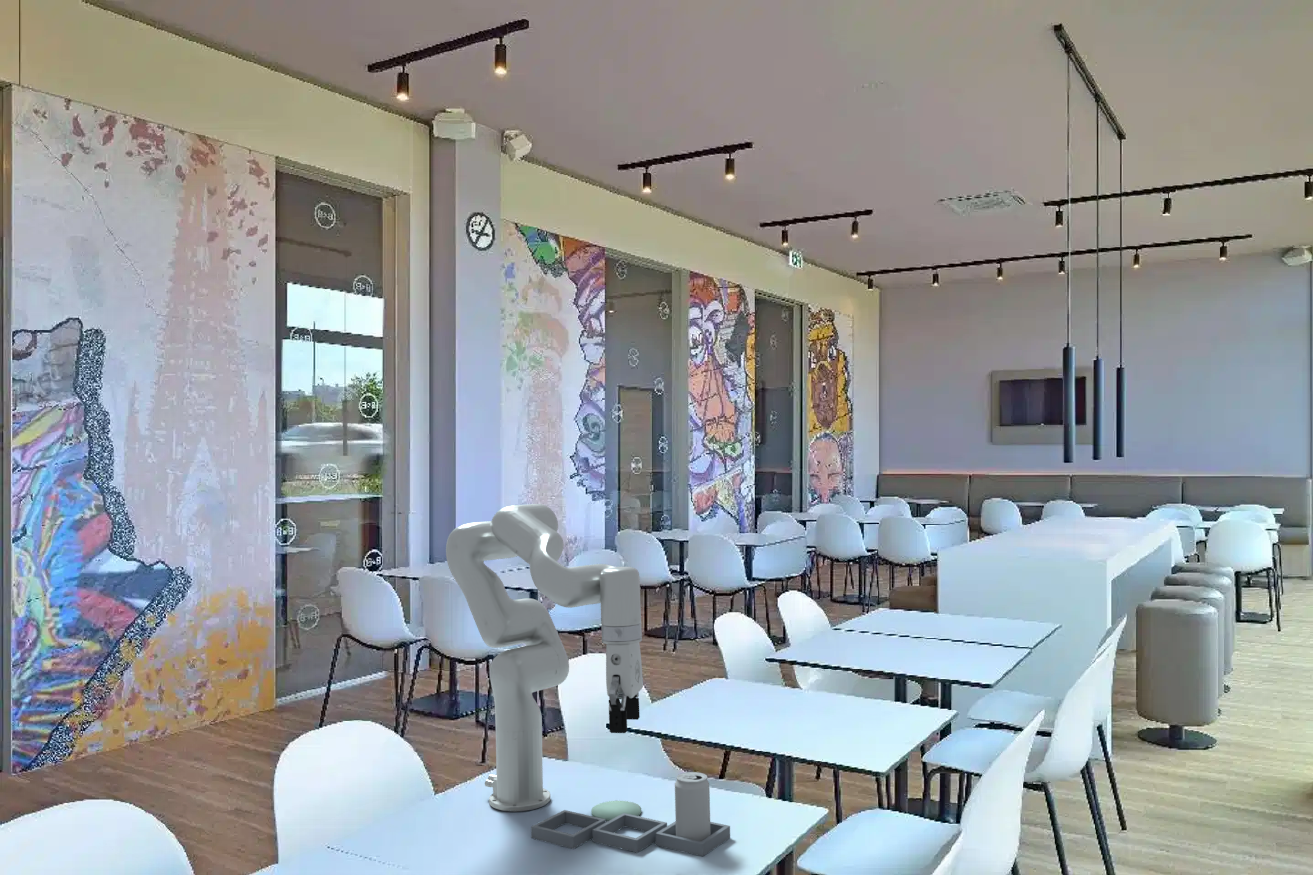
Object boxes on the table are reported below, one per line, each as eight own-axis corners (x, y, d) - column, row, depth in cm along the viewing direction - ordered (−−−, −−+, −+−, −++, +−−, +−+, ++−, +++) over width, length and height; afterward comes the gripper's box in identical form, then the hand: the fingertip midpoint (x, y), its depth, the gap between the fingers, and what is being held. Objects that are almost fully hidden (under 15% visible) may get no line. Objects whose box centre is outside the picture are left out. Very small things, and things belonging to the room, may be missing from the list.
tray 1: (531, 838, 186) (531, 826, 186) (564, 821, 194) (564, 809, 194) (573, 848, 180) (573, 836, 180) (605, 830, 189) (605, 819, 189)
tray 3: (655, 845, 181) (655, 833, 181) (684, 827, 190) (684, 815, 190) (702, 856, 176) (702, 843, 176) (730, 837, 184) (730, 825, 184)
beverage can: (707, 849, 179) (706, 782, 179) (673, 847, 180) (671, 780, 180) (713, 836, 185) (711, 771, 185) (679, 833, 186) (677, 769, 187)
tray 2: (592, 841, 183) (592, 829, 183) (623, 824, 192) (623, 812, 192) (637, 852, 178) (637, 840, 178) (667, 834, 186) (667, 822, 186)
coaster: (581, 815, 197) (581, 812, 197) (610, 800, 205) (610, 797, 205) (622, 825, 191) (622, 821, 191) (651, 809, 200) (650, 806, 200)
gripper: (630, 641, 176) (633, 738, 176) (651, 626, 193) (654, 714, 193) (589, 641, 178) (593, 737, 177) (613, 626, 195) (617, 713, 194)
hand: (625, 725), depth 185 cm, fingers open, 9 cm apart
